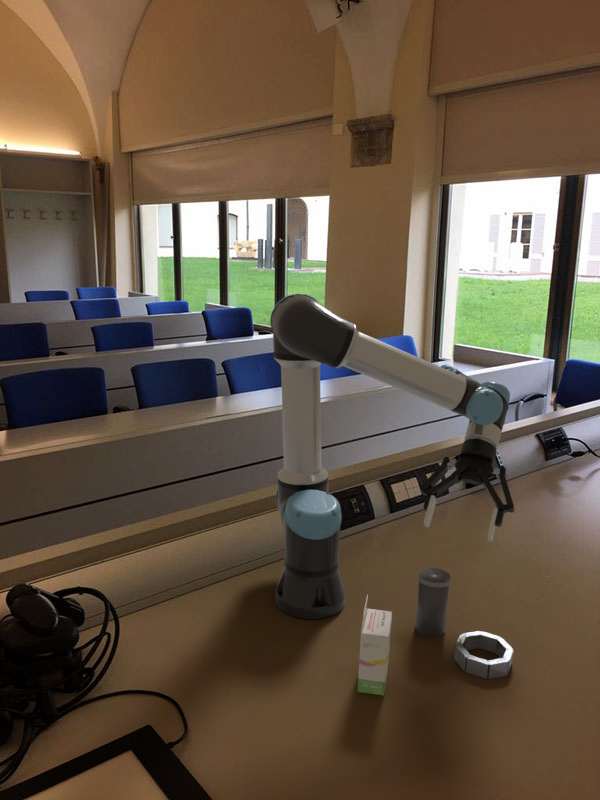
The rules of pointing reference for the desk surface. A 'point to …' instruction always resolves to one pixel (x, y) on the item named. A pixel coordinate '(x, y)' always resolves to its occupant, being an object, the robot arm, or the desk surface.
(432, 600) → the tube
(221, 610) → the desk surface
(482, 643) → the collar
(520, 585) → the desk surface
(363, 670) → the ink box
